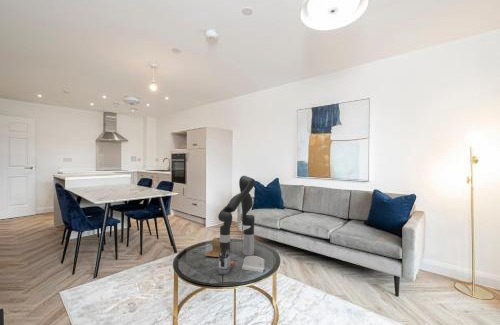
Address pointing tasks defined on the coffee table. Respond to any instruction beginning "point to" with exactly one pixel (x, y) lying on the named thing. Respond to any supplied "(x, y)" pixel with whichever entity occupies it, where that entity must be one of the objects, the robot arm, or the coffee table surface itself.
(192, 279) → the coffee table surface
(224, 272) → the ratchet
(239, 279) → the coffee table surface
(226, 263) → the socket
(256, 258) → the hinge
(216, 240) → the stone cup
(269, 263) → the coffee table surface
